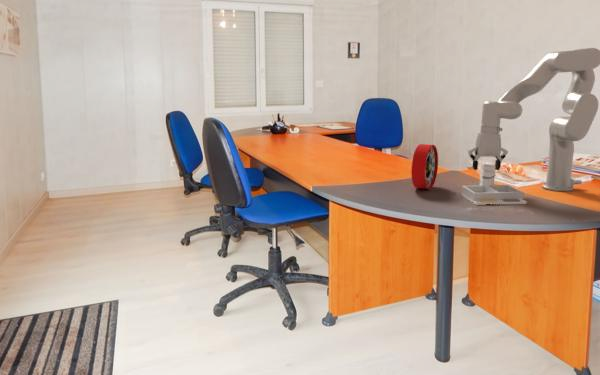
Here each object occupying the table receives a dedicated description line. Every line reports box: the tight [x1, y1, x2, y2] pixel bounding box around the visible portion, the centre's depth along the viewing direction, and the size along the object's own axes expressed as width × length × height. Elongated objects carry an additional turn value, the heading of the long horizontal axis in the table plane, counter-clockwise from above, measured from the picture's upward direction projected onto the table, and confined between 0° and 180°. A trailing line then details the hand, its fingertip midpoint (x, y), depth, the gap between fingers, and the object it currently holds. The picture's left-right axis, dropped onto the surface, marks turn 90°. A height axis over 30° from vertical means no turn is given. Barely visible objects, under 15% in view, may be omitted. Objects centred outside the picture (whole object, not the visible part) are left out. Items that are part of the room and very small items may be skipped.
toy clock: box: [410, 143, 439, 190], centre depth 222 cm, size 20×6×20 cm, turn 149°
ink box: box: [479, 161, 496, 185], centre depth 218 cm, size 9×5×12 cm, turn 168°
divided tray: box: [461, 184, 527, 206], centre depth 203 cm, size 20×17×4 cm
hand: (486, 169), depth 217 cm, fingers open, 9 cm apart
